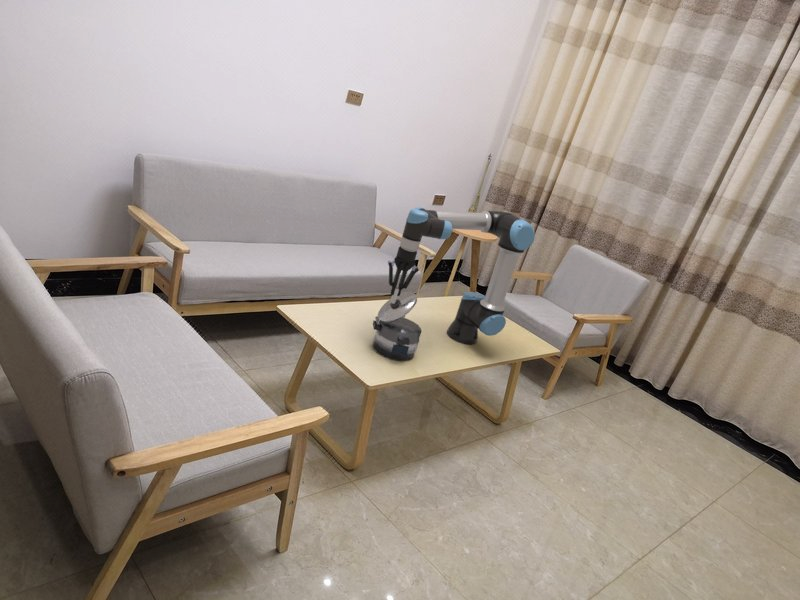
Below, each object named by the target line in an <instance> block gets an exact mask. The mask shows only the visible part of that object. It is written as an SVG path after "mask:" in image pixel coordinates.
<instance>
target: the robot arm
mask: <svg viewBox="0 0 800 600" xmlns="http://www.w3.org/2000/svg"><path fill="white" fill-rule="evenodd" d="M405 221H406V222H405V225H404V228H403V232H402V236H401V239H400V242H399V246H398V249H397V252H396V256H395V257H394V258H393V260H388V261H387V264H388V284H389V287H391V289H390V295H391V298H390V299H391V303H393V304H395V302H396V298H397V296H400V293H402V290H403V289H405V290H406V289H407V288H408V287H409V285H410V283H411V281H412V280H413V279H414V276H415V275H416V274H417V273H418V271H419V270H420V269H419V268H418V266H416V263H415V261H416V257H417V254H418V250H419V249H420V245H421V242H422V238H423V237H427V238H433V239H437V240H447V239H449V238H450V237H451V235H452V233H453V230H464V231H465V230H466V231H467V230H470V231H471V230H472V231H480V232H481V233H486V234H491V235H494V236H495V237H497V238H499V240H498V243H497V247H498V248H499V252H498V254H497V257H496V261H495V265H494V268H493V272H492V274H491V276H490V280H489V283H488V287H487V290H486V292H485V293H486V294H485V295H484V294H482V293H480V292H474V291H465V292H464V293H463V295H462V297H461V300H460V302H459V306H458V309H457V311H456V314H455V318H454V320H453V321H452V322H451V323H450V325H449V326H448V327H447V330H446V335H447V336H448V337H450V338H451V339H452V340H454V341H456V342H459V343H462V344H466V345H474V344H476V343H477V342H478V339H479V338H478V336H479V335H478V334H479V332H481V333H483V334H484V335H485V336H490V337H491V336H495V335H498V334H499V333H500V332H502V331H503V329H504V328H505V326H506V323H507V320H506V317H505V316H504V312H505V310H506V307H505V306H504V302H505V299H506V296H507V294H508V293H507V292H508V290H509V287H510V284H511V281H512V279H513V275H514V272H515V270H516V267H517V263H518V260H519V257H520V255H522V254H524V253H525V251H526V250H527V249H529V248H530V247H531V246H532V245H533V244H534V241H535V238H536V235H535V234H536V233H535V228H534V227H533V225H532V224H531V223H529V222H528V221H526V220H525V219H524V218H523V219H522V217H521V218H520V217H518V216H516V215H515V214H512V213H511V212H507V211H501V210H500V211H498V210H483V211H481V212H473V211H472V212H471V211H453V210H452V211H450V210H433V209H432V210H431V209H426V208H424V207H422V206H421V207H419V206H417V207H415V208H412V209H410V210H409V212H408V215H407V218H406V220H405ZM394 266H395V267H396V271H395V275H394V268H393V267H394ZM410 270H411V271H410ZM408 271H410V272H409V274H408ZM407 274H408V275H407ZM393 275H394V276H393ZM400 275H401V276H400Z"/></svg>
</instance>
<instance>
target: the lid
mask: <svg viewBox="0 0 800 600" xmlns="http://www.w3.org/2000/svg"><path fill="white" fill-rule="evenodd" d="M417 302H418V297H417V295H416V293H415V292H413V291H404V292H401V293H400V296H397V298H396V302H395V304H393V303H391V298H390V299H388V300H387V301H386V302H384V304H383V305H382V306H381V307H380V309H379V310H378V312H377V313H378V314H377V316H375V321H376V323H377V325H378V326H379V325H380V321H381V322H382V323H390V322H394V321H396V320H398V319H400V318H402V317H403V316H405V317H406V315H408V314H409V313H410V312H411V311H412V310H413V309H414V307H416V304H417Z"/></svg>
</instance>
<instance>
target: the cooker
mask: <svg viewBox="0 0 800 600" xmlns="http://www.w3.org/2000/svg"><path fill="white" fill-rule="evenodd" d="M379 321H380V320H379ZM372 327H373V330H375V333H374V337H373V343H372V348H373V350H374V351H375V352H376V353H378V354H379V355H380V356H382V357H384V358H386V359H389V360H393V361H398V362H406V361H407V362H408V361H411V360H412V359H413V358H414V356H415V353H416V351H417V350H418V346H419V342H420V337H421V334H422V328H421V327H420V326H419V324H418V323H415V322H414V321H412V320H410V319H408V318H403V317H402V318H400V319H398V320H396V321H394V322H390V323H382V322H381V321H380V325H379V326H378V325H377V323H376V320H372Z"/></svg>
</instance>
